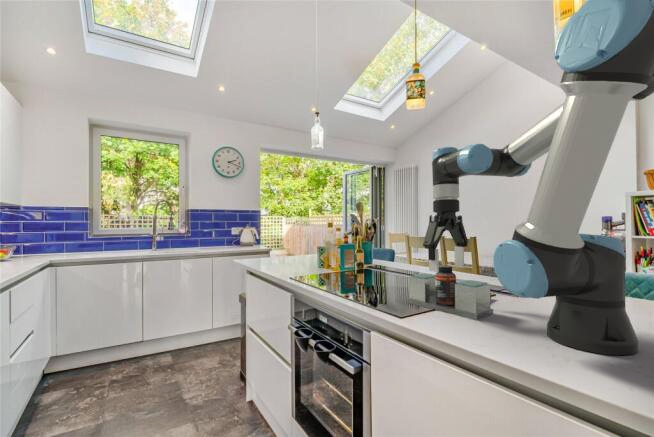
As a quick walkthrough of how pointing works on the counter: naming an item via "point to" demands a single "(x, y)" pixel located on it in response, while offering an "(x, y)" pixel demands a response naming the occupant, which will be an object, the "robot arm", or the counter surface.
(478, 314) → the rail
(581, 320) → the robot arm
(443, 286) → the supplement bottle
